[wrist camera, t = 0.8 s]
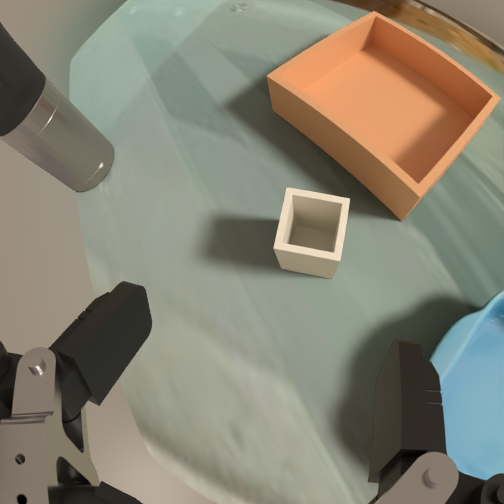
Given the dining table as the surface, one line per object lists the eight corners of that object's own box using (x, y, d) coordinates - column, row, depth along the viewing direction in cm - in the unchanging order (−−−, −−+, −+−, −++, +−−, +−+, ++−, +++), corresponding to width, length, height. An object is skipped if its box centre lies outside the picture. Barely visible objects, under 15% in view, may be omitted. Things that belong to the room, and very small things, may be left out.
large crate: (272, 110, 41) (266, 75, 34) (370, 43, 42) (374, 11, 35) (401, 221, 35) (420, 197, 28) (482, 126, 36) (500, 98, 29)
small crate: (331, 279, 34) (340, 261, 26) (281, 268, 36) (273, 248, 27) (340, 230, 36) (350, 198, 27) (291, 221, 37) (286, 187, 28)
